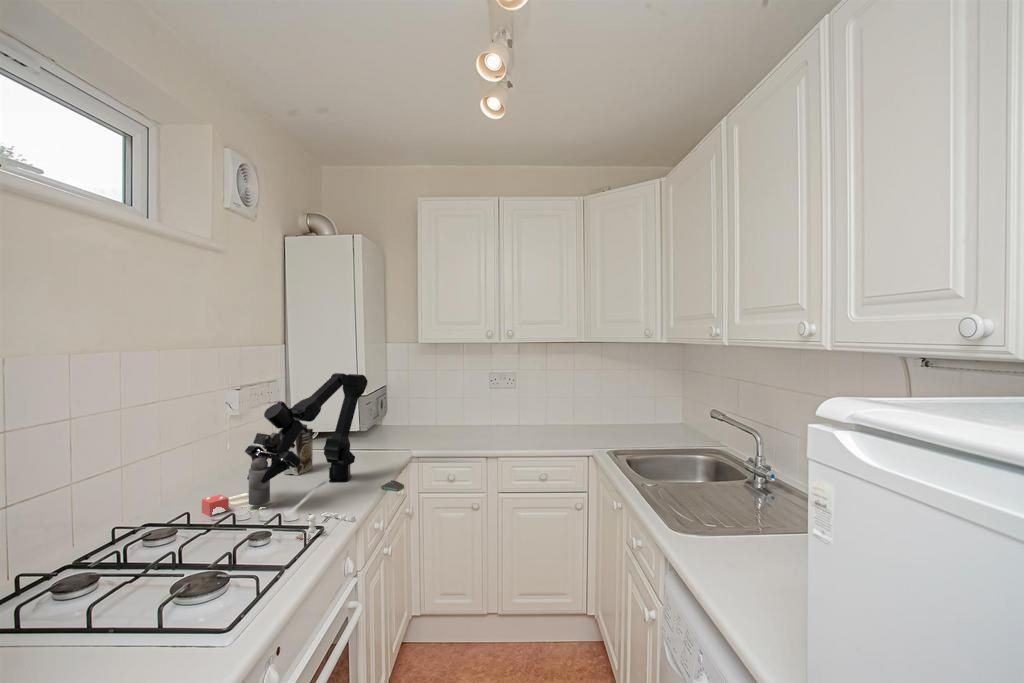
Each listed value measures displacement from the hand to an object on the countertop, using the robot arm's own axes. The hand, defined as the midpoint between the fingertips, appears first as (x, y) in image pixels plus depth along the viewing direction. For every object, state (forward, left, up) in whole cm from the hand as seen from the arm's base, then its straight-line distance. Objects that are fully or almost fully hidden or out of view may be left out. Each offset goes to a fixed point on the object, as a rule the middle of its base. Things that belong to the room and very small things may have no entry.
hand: (255, 481), depth 137 cm
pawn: (-1, -1, -7) cm, 7 cm away
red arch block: (+10, +3, -9) cm, 14 cm away
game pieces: (-28, -2, -10) cm, 30 cm away
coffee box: (+3, -41, -9) cm, 42 cm away
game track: (+4, -5, -9) cm, 11 cm away
